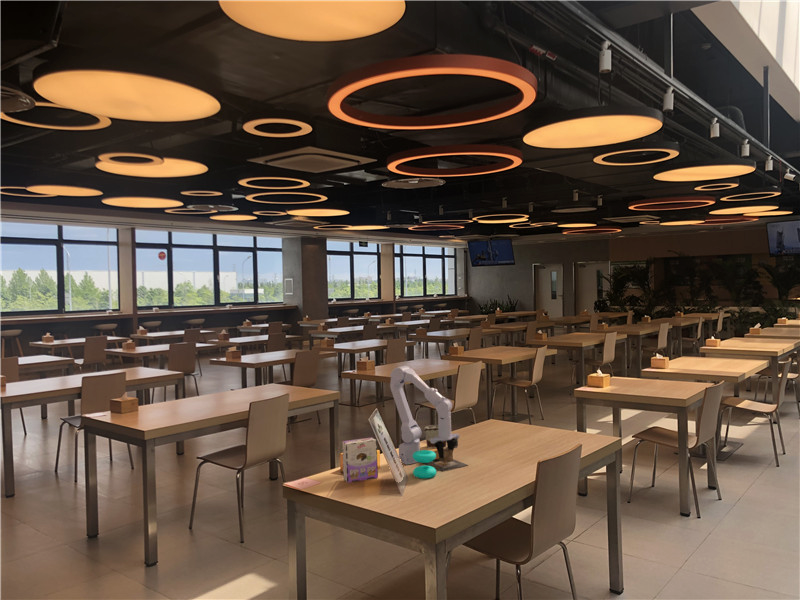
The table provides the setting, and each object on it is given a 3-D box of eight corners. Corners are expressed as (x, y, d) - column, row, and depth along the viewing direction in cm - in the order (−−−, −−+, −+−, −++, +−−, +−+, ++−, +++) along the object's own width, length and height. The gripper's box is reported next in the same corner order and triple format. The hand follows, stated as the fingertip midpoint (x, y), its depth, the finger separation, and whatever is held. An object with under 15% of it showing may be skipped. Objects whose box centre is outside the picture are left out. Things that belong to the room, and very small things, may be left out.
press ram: (428, 460, 269) (427, 442, 269) (425, 459, 271) (424, 441, 271) (459, 454, 278) (458, 436, 278) (456, 453, 280) (455, 435, 280)
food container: (449, 444, 301) (448, 424, 300) (448, 447, 294) (448, 427, 294) (424, 444, 302) (424, 424, 302) (424, 447, 296) (423, 427, 296)
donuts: (427, 447, 258) (440, 453, 249) (428, 470, 258) (441, 476, 250) (408, 451, 253) (420, 457, 244) (408, 474, 253) (421, 481, 245)
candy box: (373, 474, 255) (372, 436, 255) (378, 478, 250) (377, 439, 250) (343, 479, 250) (341, 440, 250) (346, 483, 245) (345, 443, 245)
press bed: (442, 471, 256) (442, 465, 256) (419, 461, 271) (419, 455, 271) (467, 465, 263) (467, 459, 263) (444, 456, 279) (444, 450, 279)
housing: (444, 463, 262) (444, 451, 262) (439, 460, 266) (438, 449, 266) (452, 461, 265) (452, 449, 265) (447, 458, 268) (446, 447, 268)
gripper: (436, 430, 258) (437, 461, 258) (463, 425, 266) (464, 455, 266) (427, 427, 264) (428, 457, 264) (453, 423, 272) (454, 452, 272)
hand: (445, 456), depth 266 cm, fingers closed on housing, 4 cm apart
